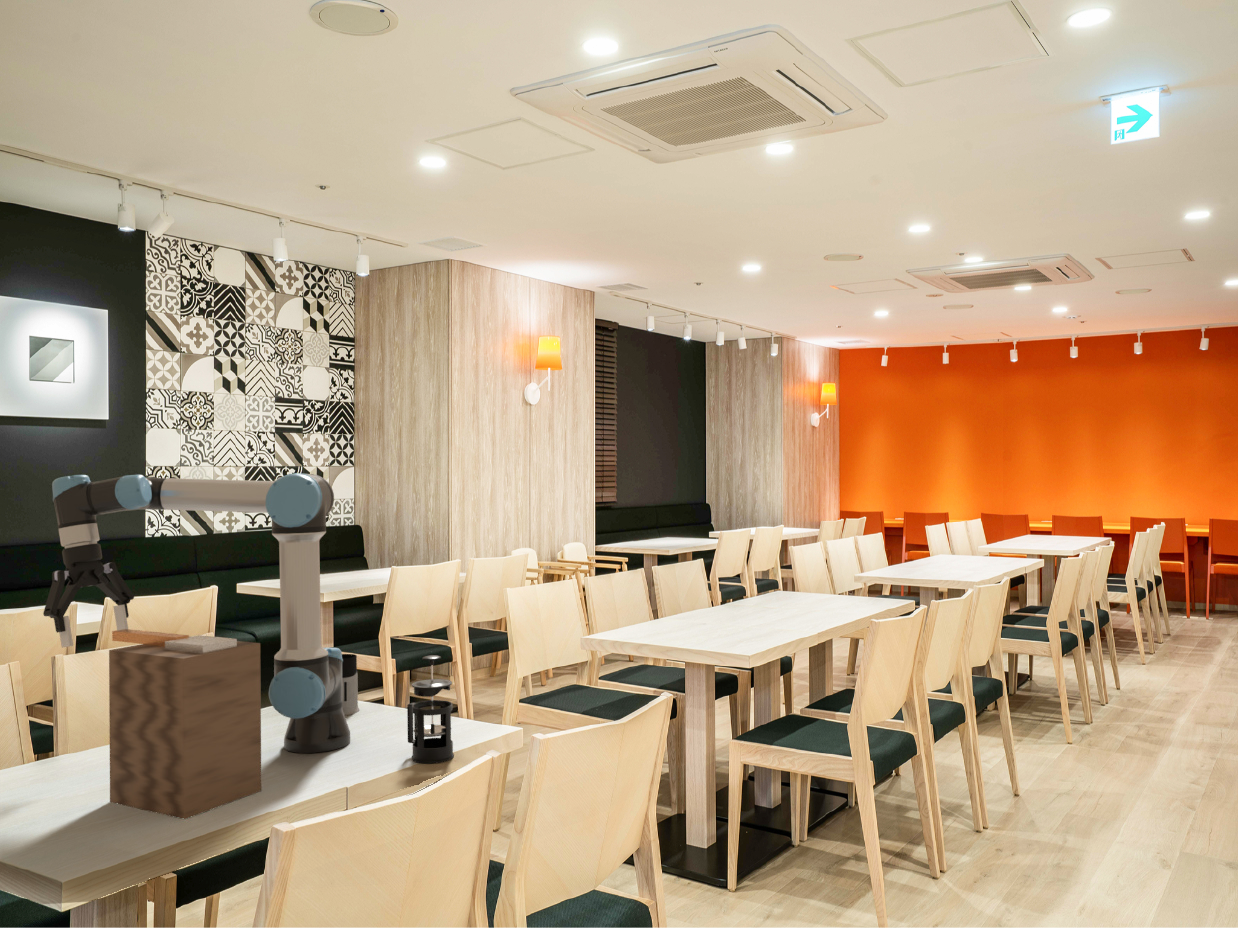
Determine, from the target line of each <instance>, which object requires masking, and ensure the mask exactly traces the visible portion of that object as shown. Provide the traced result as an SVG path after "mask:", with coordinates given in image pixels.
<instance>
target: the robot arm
mask: <svg viewBox="0 0 1238 928" xmlns="http://www.w3.org/2000/svg"><path fill="white" fill-rule="evenodd" d="M51 485H52V487H51V488H52V501H53V503H54V509H55V515H56V520H57V529H58V535H59V540H60V546H61V547H64V548H63V549H62V551H61V554H62V560H63V564H64V565H65V570H63V569H60V570H55V571H53V572H52V574H51V580H52V582H51V586H50V588H49V589H50V590H49V592H48V596H47V599H46V602H45V605H44V606H45V607H44V609H43V613H42V614H43V616H44V617H49V618H50V619H53V623H54V628H55V632H56V633H59V639H60V645H61V648H68V647H73V646H74V642H73V635H72V630H71V623H70V622H71V621H70V617H69V615H65V614H66V613H67V610H68V609H69V608H70V605H71V603H72V602H73V601H74V598H75V597H76V595H77V592H78V591H79V590H80V589H82V588H87V587H93V586H95V587H97V588H98V589H99V590H100V591H102V592H103V593H104V594H105V595H106V596H107V597H108V598H109V599H110V600H111V601H112V602H114V603H115V604H116V605H114V606H113V612H114V618H115V619H114V620H115V624H116V625H115V626H116V631H117V630H123V629H129V626H128V625H129V624H128V618H129V608H128V604H129V603H130V602H131V601H133V600H134V598H135V596H134V594H133V592H132V591H131V589H130V588H129V586H128V584H127V583H126V582H125V579H123V577H122V576H121V574H120V573H119V571H118V567H117V564H116V563H115V562H114V561H112V562H111V561H110V562H108V563H107V562H106V563H104V564H103V561H102V559H103V554H102V548H101V547H102V546H101V544H100V543H98V542H99V541H100V540H101V538H100V534H99V529H98V523H97V516H100V515H101V516H102V515H105V514H112V513H118V512H125V511H127V512H128V511H136V510H137V511H138V510H152V511H153V510H154V511H155V510H156V511H158V510H159V511H164V510H165V511H166V510H167V511H192V512H193V511H195V512H196V511H198V512H201V511H202V512H228V513H229V512H230V513H231V512H232V513H233V512H234V513H260V514H261V513H262V514H263V513H265V514H266V513H267V515H268V516H269V517H270V519H271V535H272V536H273V537H274V538H275V539H276V540H277V541H278V546H279V547H278V549H279V550H278V551H279V595H280V597H279V598H280V599H279V602H280V603H279V605H280V649H279V651H277V652H276V653H275V654H274V655H273V656H274V659H273V663H274V665H273V667H274V670H273V672H274V673H273V674H274V676H273V678H272V679H271V681H270V685H269V688H268V698H269V701H270V704H271V706H272V707H273V709H275V710H276V712H278V713H279V714H280V715H282V716H283V717H285V718H289V722H288V725H287V728H286V731H285V734H284V738H283V748H284V750H286V751H287V752H292V753H298V754H299V753H301V754H310V753H311V754H313V753H323V752H329V751H334V750H339V749H341V748H344V747H346V746H347V745H349V744H350V743H351V730H350V728H349V724H348V722H347V719H346V715H344V713H343V708H342V663H343V659H342V654H343V653H342V652H343V651H342V650H341V649H340V648H338V647H323V644H322V628H321V627H322V626H321V624H322V622H321V619H322V618H321V573H320V572H321V569H320V566H321V565H320V563H321V562H320V540H321V539H322V537H324V535H325V534H326V533H327V517H328V515H329V514H330V513H331V511H332V509H333V507H334V501H335V494H334V489H333V487H332V486H331V484H330V483H329V482H328V481H327V480H326V479H325V478H324V477H322V476H320V475H318V474H314V473H301V472H296V473H295V472H294V473H289V474H286V475H283V476H281V477H280V476H279V477H277V478H276V479H275V480H248V479H247V480H244V479H243V480H241V479H207V478H206V479H205V478H203V479H202V478H178V477H177V478H176V477H175V478H174V477H173V478H171V477H170V478H169V477H168V478H165V477H152V476H148V477H146V476H144V475H143V474H140V473H139V474H130V475H129V474H127V475H123V476H119V477H118V476H117V477H112V478H108V479H104V480H98V481H91V480H90V477H89V475H88V474H87V475H86V474H74V475H67V476H66V475H65V476H61V477H58V478H56V479H54V480H53V481H52V484H51ZM104 574H105V575H106V576H105V575H104ZM67 579H68V583H66V586H65V582H66V580H67ZM64 587H65V590H64ZM63 591H64V592H63ZM62 593H63V594H62Z"/></svg>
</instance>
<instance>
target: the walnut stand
mask: <svg viewBox="0 0 1238 928" xmlns="http://www.w3.org/2000/svg"><path fill="white" fill-rule="evenodd" d="M189 637H192V636H190V635H189ZM108 664H109V666H108V672H109V673H108V676H109V677H108V679H109V681H108V685H109V692H108V693H109V696H108V697H109V700H108V701H109V702H108V703H109V704H108V705H109V706H108V707H109V708H108V709H109V711H108V713H109V715H108V716H109V719H108V720H109V802H110V803H112V802H113V804H116V803H118V804H117V805H121V804H122V805H121V806H125V805H126V807H129V806H130V807H131V808H133V809H134V808H135V809H139V810H144V811H147V812H151V811H152V813H156V812H157V813H156V814H160V813H161V815H164V814H166V815H165V816H169V815H170V817H173V816H174V818H177V817H179V818H178V819H182V818H184V819H183V820H186V818H187V819H189V818H192V817H195V816H197V815H200V814H202V812H203V813H205V812H208V811H210V809H211V810H213V808H214V809H216V808H218V806H219V807H221V805H222V806H224V805H227V804H229V802H230V803H232V802H235V801H237V799H238V800H240V799H243V798H245V796H246V797H247V796H248V797H249V796H251V795H253V794H256V793H259V792H262V704H261V703H262V702H261V701H262V697H261V695H262V694H261V692H262V691H261V687H262V685H261V679H262V678H261V675H262V674H261V643H260V642H253V641H252V642H251V641H250V642H249V641H242V640H240V641H239V640H237V647H234V648H229V649H224V650H219V651H214V652H209V653H204V654H201V653H192V652H183V651H174V650H165V646H157V645H148V644H136V645H135V644H134V645H129V646H125V647H119V648H118V647H117V648H114V649H113V648H112V649H108ZM242 797H243V798H242ZM234 800H235V801H234ZM226 803H227V804H226ZM194 815H195V816H194ZM191 816H192V817H191ZM188 817H189V818H188Z"/></svg>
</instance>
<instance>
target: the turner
mask: <svg viewBox="0 0 1238 928" xmlns="http://www.w3.org/2000/svg"><path fill="white" fill-rule="evenodd" d="M111 633H112V634H111V639H112V642H121V643H131V644H138V645H141V644H148V645H157V646H165V650H174V651H183V652H192V653H201V654H204V653H209V652H214V651H219V650H224V649H229V648H234V647H237V641H238V640H237V638H231V637H223V636H222V637H220V636H213V635H212V636H209V635H200V634H199V635H194V636H191V637H189V636H190V635H189V634H181V633H170V632H169V633H168V632H162V631H161V632H157V631H149V630H137V629H129V628H128V629H123V630H117V629H116V630H112V631H111Z"/></svg>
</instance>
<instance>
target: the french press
mask: <svg viewBox="0 0 1238 928" xmlns="http://www.w3.org/2000/svg"><path fill="white" fill-rule="evenodd" d="M441 658H442V656H440V655H436V654H435V655H433V654H431V655H426V656H423V657H422V660H424V661H425V660H427V661H429V666H430V674H431V675H430V679H424V680H423V679H421V680H418V681H415V682H412V684H411V687H412V688H413V695H414V696H416V697H423V698H425V697H426V698H428V697H429V698H430V697H431V698H430V699H431V700H423V701H418V702H411V703H408V704H407V706H406V707H407V711H406V712H407V716H406V717H407V743H409V744H412V756H411V761H412V762H414V763H415V764H420V765H421V764H422V765H424V764H426V765H434V764H441V763H446V762H448V761H451V760H453V759H454V757H455V754H454V741H453V740H452V727H451V725H452V721H451V720H452V716H451V715H452V711H453V702H451V701H448V700H440V699H435V700H434V697H435V696H436V695H438V694H439V693H440V692H441V691H443V690H446V691H451V686H452V685H453V681H452V680H451V679H450V680H449V679H441V678H440V679H439V678H434V676H433V674H434V667H433V666H434V665H435V661H436V660H441ZM426 707H427V709H424V708H426ZM428 707H431V709H429V708H428ZM434 707H439V708H434ZM439 715H440V724H434V716H439ZM425 716H431V724H430V725H429V724H427V725H425Z"/></svg>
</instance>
